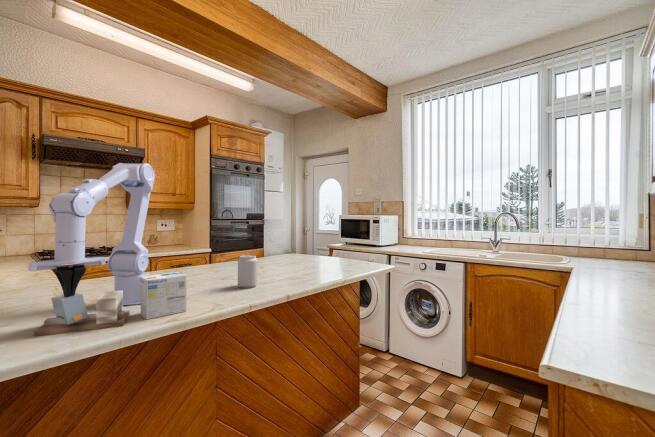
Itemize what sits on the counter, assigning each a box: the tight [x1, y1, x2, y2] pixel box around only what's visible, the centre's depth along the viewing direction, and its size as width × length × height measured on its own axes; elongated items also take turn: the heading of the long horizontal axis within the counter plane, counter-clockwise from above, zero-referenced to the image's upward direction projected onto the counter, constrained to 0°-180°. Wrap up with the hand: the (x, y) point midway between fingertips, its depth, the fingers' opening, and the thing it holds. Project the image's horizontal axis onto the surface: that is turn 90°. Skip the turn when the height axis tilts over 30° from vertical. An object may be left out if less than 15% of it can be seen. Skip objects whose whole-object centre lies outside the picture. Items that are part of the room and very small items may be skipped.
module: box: [50, 292, 88, 325], centre depth 76 cm, size 4×9×6 cm, turn 56°
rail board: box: [33, 290, 131, 337], centre depth 77 cm, size 17×9×7 cm, turn 114°
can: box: [237, 254, 259, 289], centre depth 119 cm, size 8×8×12 cm
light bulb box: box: [140, 271, 188, 320], centre depth 87 cm, size 11×7×11 cm, turn 135°
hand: (68, 297), depth 75 cm, fingers closed, pressing on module
